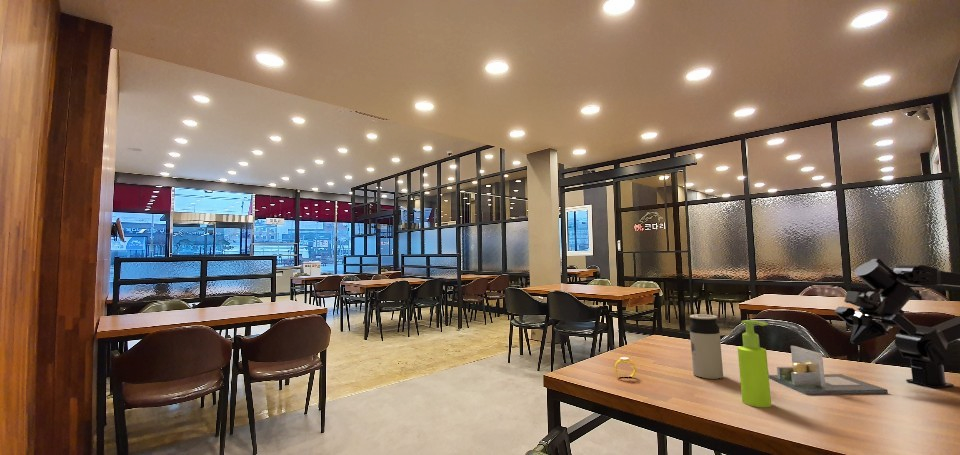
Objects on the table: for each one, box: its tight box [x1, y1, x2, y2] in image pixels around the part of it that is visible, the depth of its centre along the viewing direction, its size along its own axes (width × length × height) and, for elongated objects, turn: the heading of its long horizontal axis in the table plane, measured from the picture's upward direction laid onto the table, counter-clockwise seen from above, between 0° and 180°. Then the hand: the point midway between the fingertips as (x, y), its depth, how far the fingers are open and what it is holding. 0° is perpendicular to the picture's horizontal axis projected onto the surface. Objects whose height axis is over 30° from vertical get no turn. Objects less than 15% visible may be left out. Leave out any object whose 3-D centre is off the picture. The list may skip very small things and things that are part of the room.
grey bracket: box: [776, 345, 826, 387], centre depth 109 cm, size 6×10×8 cm, turn 177°
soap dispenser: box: [737, 319, 772, 408], centre depth 97 cm, size 6×7×20 cm
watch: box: [614, 356, 637, 378], centre depth 121 cm, size 6×3×6 cm, turn 80°
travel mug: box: [689, 313, 724, 380], centre depth 121 cm, size 8×8×18 cm
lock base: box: [768, 362, 889, 396], centre depth 108 cm, size 20×14×6 cm
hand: (852, 342), depth 108 cm, fingers closed
